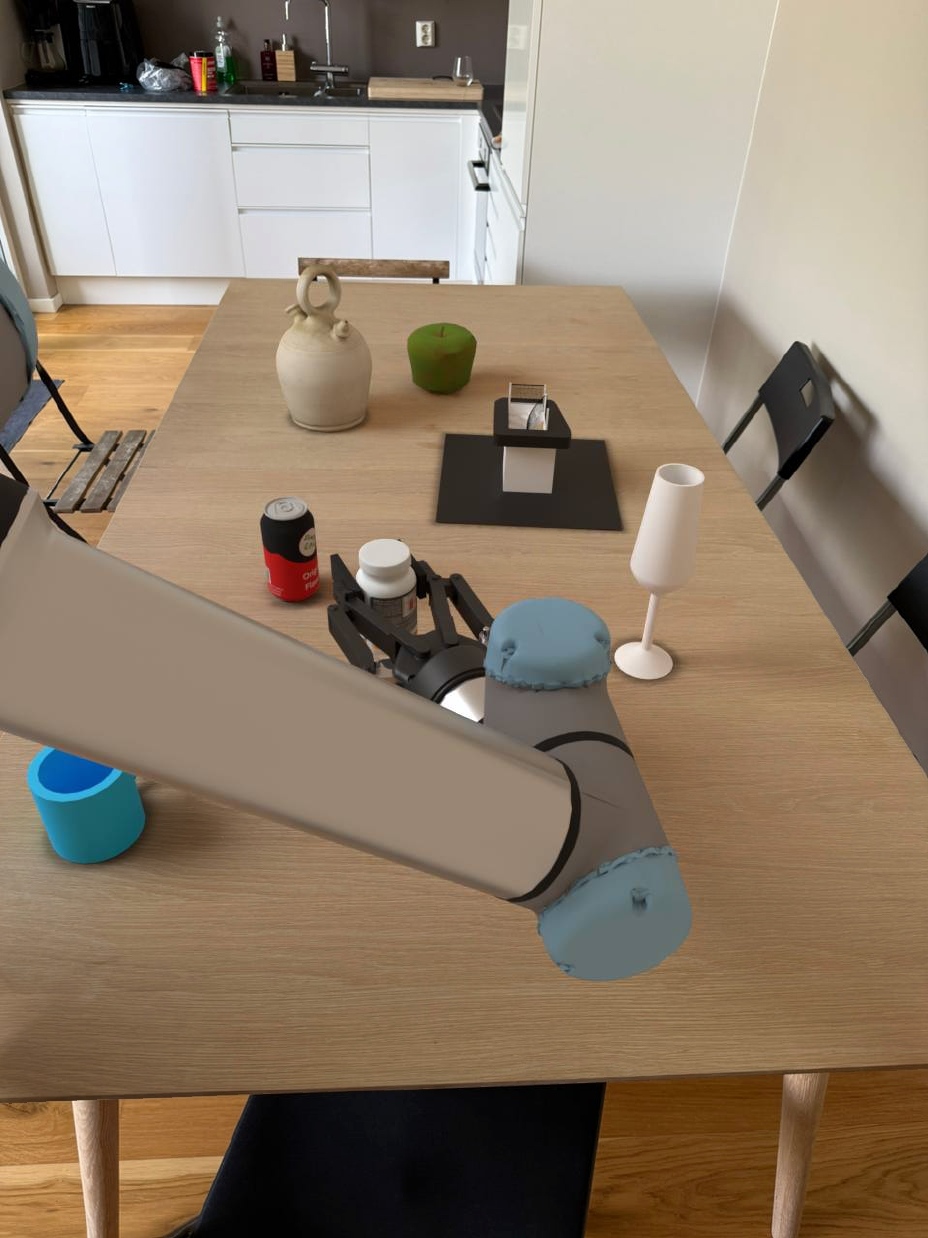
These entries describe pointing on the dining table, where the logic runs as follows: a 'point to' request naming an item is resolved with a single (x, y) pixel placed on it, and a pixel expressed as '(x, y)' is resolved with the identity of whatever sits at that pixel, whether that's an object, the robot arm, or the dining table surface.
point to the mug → (85, 806)
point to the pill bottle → (388, 583)
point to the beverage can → (290, 549)
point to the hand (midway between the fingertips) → (366, 558)
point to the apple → (441, 357)
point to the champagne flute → (663, 558)
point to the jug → (323, 361)
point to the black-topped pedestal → (527, 471)
